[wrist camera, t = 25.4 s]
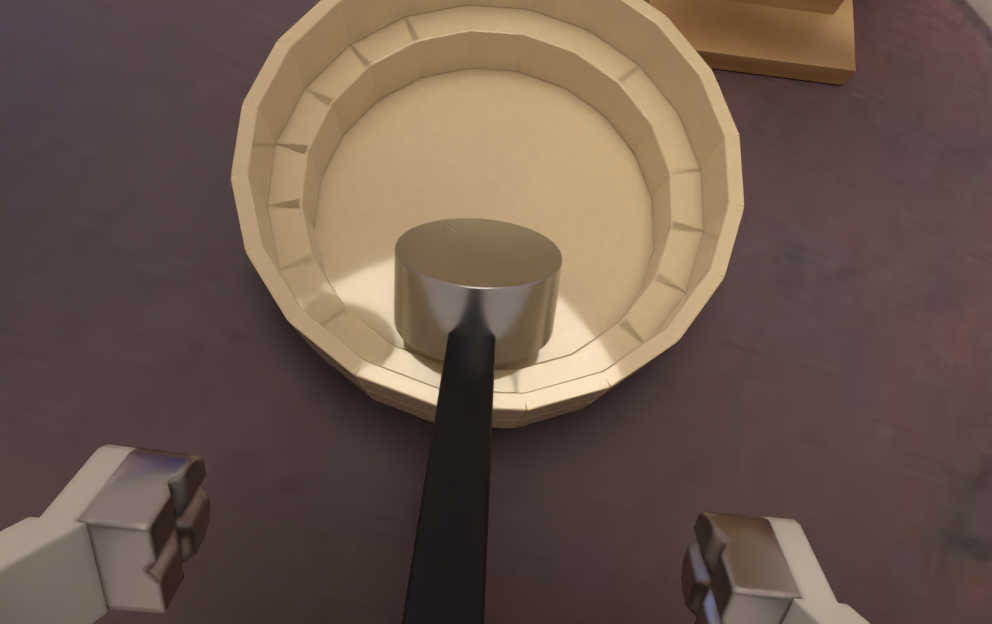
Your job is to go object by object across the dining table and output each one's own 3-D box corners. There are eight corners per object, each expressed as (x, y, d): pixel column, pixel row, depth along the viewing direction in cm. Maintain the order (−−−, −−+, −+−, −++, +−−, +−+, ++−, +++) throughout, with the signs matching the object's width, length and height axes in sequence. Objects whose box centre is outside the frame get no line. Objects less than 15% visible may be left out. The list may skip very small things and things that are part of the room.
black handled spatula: (405, 279, 28) (406, 212, 27) (548, 290, 29) (557, 223, 27) (184, 1006, 9) (145, 908, 8) (624, 1031, 9) (667, 940, 8)
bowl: (524, 524, 27) (542, 529, 21) (186, 248, 29) (120, 185, 23) (764, 197, 31) (833, 127, 25) (456, -19, 34) (456, -127, 28)
